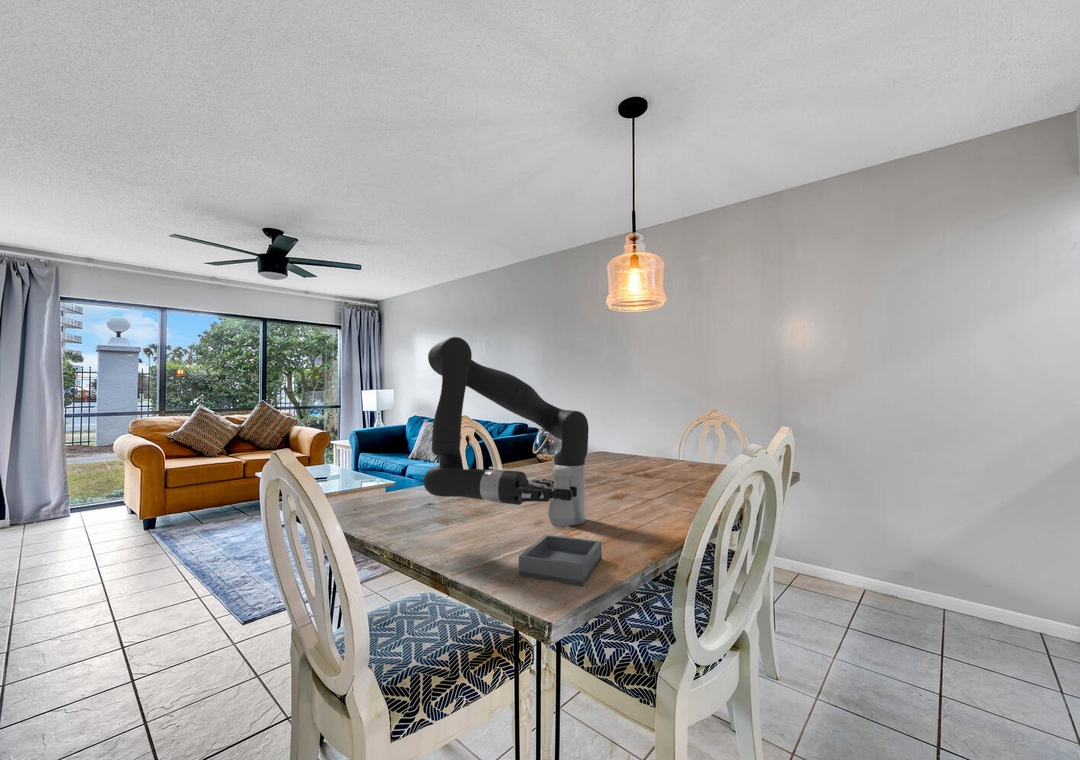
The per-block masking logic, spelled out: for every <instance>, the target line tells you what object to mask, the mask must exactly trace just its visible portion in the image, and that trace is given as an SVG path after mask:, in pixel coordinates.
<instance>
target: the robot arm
mask: <svg viewBox="0 0 1080 760" xmlns="http://www.w3.org/2000/svg"><path fill="white" fill-rule="evenodd" d="M472 355H473V354H472V349H471V346H470V345H469V343H468V342H467V340H465V339H463V338H461V337H458V336H452V337H448V338H446V339H443V340H442V341H440V342H438V343H437V344H435V345H433V346H432V347H431V348H430V349H429V351H428V355H427V359H428V361H427V362H428V364H429V366H430V367H431V369H432V370H433V372H435V373H436V374H438V375H440V376H441V379H442V380H441V381H442V382H441V391H440V396H439V400H438V403H437V407H436V410H435V414H434V418H433V423H432V425H433V426H432V434H431V435H432V437H431V452H432V454H433V455H435V456H437V457H438V460H439V461H438V462H439V465H437V466H433V467H432V468H430V469H428V470H427V471H426V472H425V474H424V476H423V479H422V480H423V481H422V482H423V486H424V488H425V490H426V491H427V493H429V494H431V495H433V496H436V497H444V498H445V497H452V498H453V497H454V498H459V497H461V498H467V499H468V498H469V499H475V500H483V501H489V502H492V503H499V504H507V505H517V506H520V505H522V504H523V503H524V502H526V503H527V502H540V503H541V502H545V503H546V502H550V501H551V500H555V498H556V499H558V498H559V499H561V500H568V501H570V500H572V502H573V508H574V518H573V520H572V522H571V525H570V526H579V525H582V524H584V523H586V515H585V514H586V513H585V512H586V510H585V509H586V475H585V473H586V457H587V455H588V448H589V447H588V446H589V445H588V444H589V421H588V419H587V417H586V415H585V414H584V413H583V412H581V411H579V410H572V409H571V410H570V409H569V410H567V409H562V408H559V407H557V406H555V405H553V404H550V403H549V402H547V401H545V400H544V399H543V398H542V397H541V396H540V395H539V393H538V392H537V391H536V390H535V388H533V387H532V386H530V385H529V384H528V383H526V382H525V381H523V380H521V379H520V378H519V377H516V376H515V375H512V374H510V373H508V372H505V371H502V370H499V369H495V368H493V367H492V368H491V367H489V366H488V367H487V366H485V365H482V364H480V363H478V362H476V361H474V360H473V359H472V357H473V356H472ZM466 388H469V389H471V390H473V391H474V392H476V393H478V394H480V395H481V396H483V397H484V398H487V399H488V400H490V401H491V402H493V403H495V404H497V405H498V406H500V407H502V408H504V409H505V410H507V411H509V412H511V413H513V414H514V415H517V416H519V417H521V418H523V419H525V420H528V421H530V422H532V423H535V424H536V425H537V426H539V427H541V428H542V429H544V431H546V432H547V433H549V434H550V435H552V436H553V437H554V438H556V439H559V440H561V447H560V450H559V451H558V452H557V453H555V454H554V457H553V459H554V460H553V461H554V462H553V463H554V464H553V468H554V467H555V466H568V467H570V468H571V471H572V474H571V477H569V478H568V480H569V486H570V490H567V489H555V488H553V485H554V480H555V477H553V478H554V479H553V480H551V479H546V478H542V479H541V480H540V479H537V478H536V479H535V478H534V479H531V481H529V480H528V476H527V474H526V473H525V472H523V471H517V470H516V471H515V470H507V469H482V468H467V469H466V468H465V469H464V465H463V464H464V463H463V459H462V454H461V439H462V438H461V437H462V436H461V435H462V433H461V432H462V418H463V417H462V416H463V409H464V401H465V400H464V399H465V396H466V395H465V393H466Z"/></svg>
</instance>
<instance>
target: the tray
mask: <svg viewBox="0 0 1080 760" xmlns="http://www.w3.org/2000/svg"><path fill="white" fill-rule="evenodd" d="M601 560H602V540H601V541H600V540H593V539H586V538H577V537H570V536H569V537H568V536H561V535H554V534H553V535H552V534H547V533H546V534H544V535H543V536H541V537H540V538H539V539H538V540H537V541H536V542H534V543H533V544H532V545H531V546H530V547H528V548H527V549H526V550H525V551H524V552H523V553H521V554H520V555H519V556H518V577H524V578H530V579H535V580H536V579H537V580H543V581H548V582H554V583H561V584H567V585H571V586H572V585H573V586H579V587H584V585H585V584H586V582H587V581H588V580H589V578H590V577H591V575H592V573H593V572H594V571H595V570H596V567H597V566H598V565H599V563H600V562H601Z"/></svg>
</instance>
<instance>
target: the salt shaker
mask: <svg viewBox="0 0 1080 760" xmlns="http://www.w3.org/2000/svg"><path fill="white" fill-rule="evenodd" d="M551 472H552V477H553V478H554V477H555V480H554V479H553V481H554V485H553V488H555V489H567V490H570V486H569V480H568V478H569V477H571V474H572V471H571V468H570V467H568V466H555V467H554V466H553V467H552V470H551ZM547 513H548V518H549V521H550V523H551V526H553V527H555V528H562V529H564V528H570V527H571V526H572V525H571V522H572V520H573V518H574V508H573V502H572V500H570V501H568V500H561V499H559V498H558V499H556V498H555V500H549V507H548V512H547Z"/></svg>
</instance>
